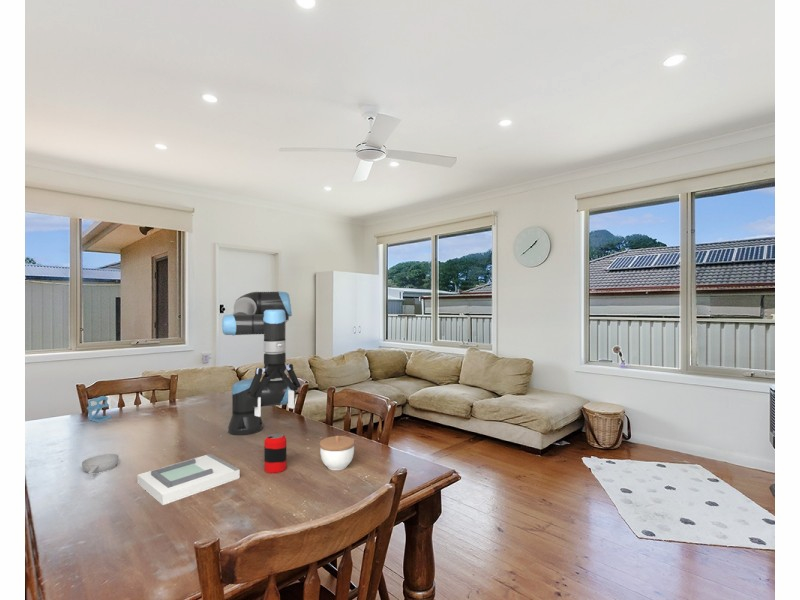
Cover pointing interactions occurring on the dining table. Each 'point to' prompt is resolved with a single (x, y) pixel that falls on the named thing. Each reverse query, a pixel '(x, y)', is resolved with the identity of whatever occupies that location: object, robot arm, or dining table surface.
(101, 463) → the saucepan
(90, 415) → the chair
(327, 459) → the lidded bowl
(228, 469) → the dock
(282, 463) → the soda can
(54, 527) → the dining table surface
